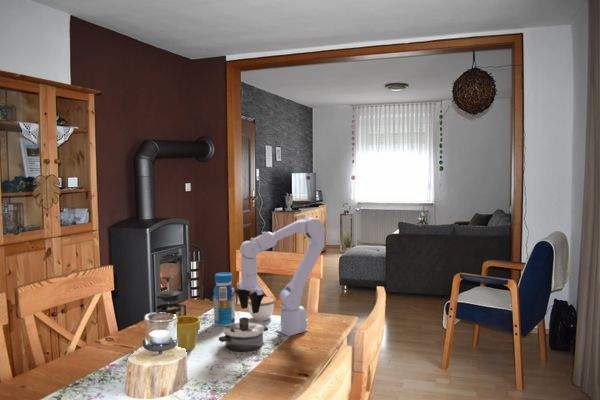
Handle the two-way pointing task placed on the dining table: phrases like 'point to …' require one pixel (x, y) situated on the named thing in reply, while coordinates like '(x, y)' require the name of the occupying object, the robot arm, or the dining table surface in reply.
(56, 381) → the dining table surface
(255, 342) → the cooking pot
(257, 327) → the lid
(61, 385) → the dining table surface
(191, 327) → the plant pot
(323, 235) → the robot arm
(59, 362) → the dining table surface
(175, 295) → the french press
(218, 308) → the beverage bottle
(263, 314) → the lidded jar
